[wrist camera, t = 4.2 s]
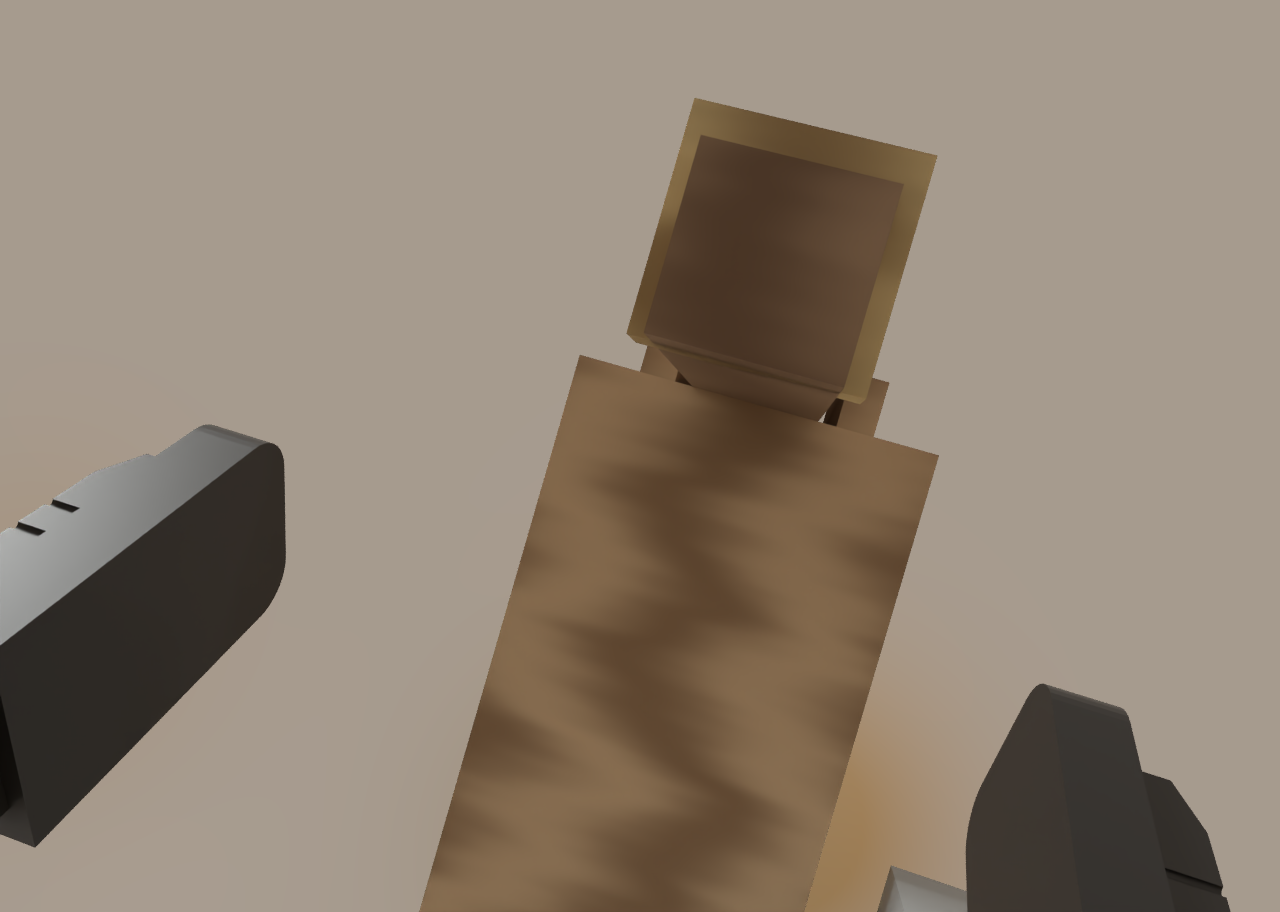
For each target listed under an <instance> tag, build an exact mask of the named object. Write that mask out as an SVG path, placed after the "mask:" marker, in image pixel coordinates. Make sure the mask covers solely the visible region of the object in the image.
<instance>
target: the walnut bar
mask: <svg viewBox="0 0 1280 912" xmlns="http://www.w3.org/2000/svg"><path fill="white" fill-rule="evenodd" d="M936 159H937V155H932V154H929V153H924V152H920V151H916V150H912V149H908V148H903V147H899V146H895V145H891V144H887V143H882V142H878V141H874V140H870V139H866V138H861V137H857V136H853V135H848V134H844V133H840V132H836V131H832V130H827V129H823V128H819V127H815V126H811V125H807V124H803V123H798V122H794V121H789V120H786V119H781V118H777V117H773V116H769V115H765V114H760V113H756V112H752V111H748V110H744V109H739V108H735V107H731V106H727V105H722V104H718V103H714V102H710V101H706V100H702V99H697V98H695V99H694V102H693V105H692V109H691V112H690V115H689V119H688V122H687V126H686V129H685V133H684V136H683V140H682V143H681V147H680V150H679V154H678V157H677V160H676V164H675V168H674V171H673V174H672V178H671V181H670V185H669V188H668V192H667V195H666V198H665V202H664V205H663V209H662V213H661V216H660V219H659V223H658V226H657V230H656V233H655V236H654V240H653V244H652V247H651V251H650V254H649V257H648V261H647V264H646V268H645V271H644V275H643V278H642V281H641V285H640V288H639V292H638V295H637V299H636V302H635V306H634V309H633V313H632V316H631V320H630V323H629V326H628V330H627V334H628V335H629V336H630V337H631V338H632V339H633V340H634V341H635V342H636V343H640V344H643V345H647V346H650V347H654V348H658V349H659V350H660V351H661V352H662V353H663V355H664V356H665V357H666V358H667V359H668V360H669V361H670V362H671V363H672V364H673V366H674V367H675V368H676V369H677V370H678V371H679V372H680V373H681V374H682V375H683V377H684V378H685V379H686V380H687V381H688V382H689V383H690V384H691V385H692V386H693V387H696V388H700V389H703V390H707V391H711V392H714V393H718V394H721V395H725V396H728V397H732V398H736V399H739V400H743V401H746V402H750V403H753V404H757V405H761V406H764V407H768V408H771V409H775V410H778V411H782V412H786V413H789V414H793V415H796V416H800V417H803V418H807V419H810V420H814V421H819V420H820V418H821V417H822V416H823V415H824V413H825V412H826V411H827V409H828V408H829V407H830V406H831V404H832V403H833V402H834V400H835V399H836V398H839V399H842V400H846V401H850V402H853V403H857V404H861V403H862V402H863V401H864V400H866V397H867V394H868V390H869V387H870V384H871V380H872V376H873V373H874V370H875V366H876V363H877V360H878V356H879V353H880V349H881V346H882V342H883V339H884V336H885V333H886V329H887V326H888V322H889V319H890V316H891V312H892V309H893V305H894V302H895V298H896V295H897V292H898V288H899V285H900V281H901V278H902V274H903V271H904V268H905V265H906V261H907V257H908V254H909V251H910V248H911V244H912V241H913V237H914V234H915V230H916V227H917V224H918V220H919V217H920V213H921V210H922V206H923V203H924V200H925V196H926V193H927V190H928V186H929V183H930V179H931V176H932V172H933V169H934V166H935V162H936Z"/></svg>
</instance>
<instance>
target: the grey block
mask: <svg viewBox="0 0 1280 912" xmlns="http://www.w3.org/2000/svg"><path fill="white" fill-rule="evenodd" d="M877 912H967V891H964V890H961V889H958V888H955V887H953V886H950V885H947V884H944V883H941V882H938V881H935V880H932V879H929V878H926V877H923V876H920V875H917V874H914V873H911V872H908V871H906V870H903V869H899V868H897V867H894V866H891V867H890V871H889V874H888V878H887V881H886V884H885V887H884V891H883V894H882V897H881V901H880V904H879V908H878V911H877Z"/></svg>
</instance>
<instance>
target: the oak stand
mask: <svg viewBox="0 0 1280 912" xmlns="http://www.w3.org/2000/svg"><path fill="white" fill-rule="evenodd" d="M888 386H889V382H885V381H881V380H878V379H874V378H872V380H871V384H870V387H869V390H868V394H867V397H866V400H864V401H863V402H862V403H861V404H857V403H853V402H850V401H846V400H842V399H839V398H836V399H835V400H834V402H833V403H832V404H831V406H830V407H829V408H828V409H827V411H826V415H825V418H824V421H823V423H821V422H818V421H814V420H810V419H807V418H803V417H800V416H796V415H793V414H789V413H786V412H782V411H778V410H775V409H771V408H768V407H764V406H761V405H757V404H753V403H750V402H746V401H743V400H739V399H736V398H732V397H728V396H725V395H721V394H718V393H714V392H711V391H707V390H703V389H700V388H696V387H693V386H692V385H691V384H690V383H689V382H688V381H687V380H686V379H685V378H684V377H683V375H682V374H681V373H680V372H679V371H678V370H677V369H676V368H675V367H674V366H673V364H672V363H671V362H670V361H669V360H668V359H667V358H666V357H665V356H664V355H663V353H662V352H661V351H660V350H659V349H658V348H654V347H650V346H647V350H646V353H645V357H644V360H643V363H642V367H641V370H640V372H639V371H635V370H632V369H629V368H625V367H621V366H618V365H614V364H611V363H607V362H604V361H600V360H596V359H593V358H589V357H586V356H582V355H580V356H579V360H578V364H577V367H576V370H575V374H574V377H573V381H572V384H571V387H570V391H569V394H568V398H567V401H566V405H565V408H564V412H563V415H562V419H561V422H560V426H559V429H558V433H557V436H556V440H555V443H554V447H553V450H552V453H551V457H550V461H549V464H548V467H547V471H546V474H545V478H544V481H543V485H542V488H541V491H540V495H539V498H538V502H537V505H536V509H535V513H534V516H533V519H532V523H531V526H530V530H529V533H528V537H527V540H526V543H525V547H524V550H523V554H522V557H521V561H520V564H519V568H518V571H517V575H516V579H515V582H514V585H513V589H512V593H511V595H510V599H509V602H508V606H507V609H506V613H505V616H504V620H503V623H502V627H501V630H500V634H499V637H498V641H497V644H496V647H495V651H494V655H493V658H492V662H491V665H490V668H489V672H488V676H487V679H486V682H485V686H484V689H483V693H482V696H481V700H480V703H479V706H478V710H477V714H476V717H475V720H474V724H473V727H472V731H471V734H470V738H469V741H468V745H467V748H466V752H465V755H464V758H463V762H462V765H461V769H460V772H459V776H458V779H457V783H456V786H455V790H454V793H453V797H452V800H451V804H450V807H449V810H448V814H447V817H446V821H445V825H444V828H443V831H442V835H441V838H440V842H439V845H438V849H437V852H436V856H435V859H434V863H433V866H432V869H431V873H430V877H429V880H428V883H427V887H426V890H425V894H424V897H423V901H422V904H421V908H420V911H419V912H804V910H805V907H806V903H807V900H808V897H809V893H810V889H811V887H812V883H813V880H814V876H815V873H816V869H817V866H818V863H819V860H820V855H821V853H822V849H823V846H824V842H825V839H826V836H827V832H828V829H829V826H830V822H831V819H832V816H833V812H834V809H835V805H836V802H837V799H838V795H839V792H840V788H841V785H842V781H843V778H844V775H845V772H846V768H847V765H848V761H849V758H850V754H851V751H852V748H853V744H854V741H855V738H856V734H857V731H858V728H859V724H860V721H861V717H862V714H863V711H864V707H865V704H866V700H867V697H868V694H869V690H870V687H871V684H872V680H873V677H874V673H875V670H876V667H877V663H878V660H879V657H880V653H881V650H882V646H883V643H884V640H885V636H886V633H887V629H888V626H889V622H890V619H891V616H892V612H893V609H894V606H895V602H896V599H897V596H898V592H899V589H900V585H901V582H902V579H903V575H904V572H905V569H906V565H907V562H908V558H909V555H910V551H911V548H912V545H913V542H914V538H915V535H916V531H917V528H918V525H919V521H920V518H921V514H922V511H923V508H924V504H925V501H926V498H927V494H928V490H929V487H930V484H931V481H932V477H933V474H934V470H935V467H936V464H937V460H938V457H939V455H935V454H932V453H928V452H925V451H921V450H918V449H914V448H910V447H907V446H903V445H900V444H896V443H892V442H889V441H885V440H882V439H878V438H875V437H874V433H875V430H876V426H877V423H878V420H879V416H880V413H881V409H882V406H883V403H884V399H885V396H886V392H887V389H888Z"/></svg>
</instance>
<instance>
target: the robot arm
mask: <svg viewBox="0 0 1280 912" xmlns="http://www.w3.org/2000/svg"><path fill="white" fill-rule="evenodd" d="M285 560H286V544H285V482H284V459H283V455H282V453H281V450H280V449H279V448H278V446H276V445H275V444H272V443H269V442H266V441H263V440H260V439H256V438H253V437H250V436H246V435H243V434H240V433H237V432H234V431H230V430H227V429H224V428H221V427H218V426H214V425H203V426H200V427H198V428H197V429H195V430H193V431H192V432H190V433H189V434H187V435H186V436H184V437H183V438H181V439H180V440H179V441H177V442H176V443H174V444H173V445H171V446H170V447H168V448H167V449H165V450H164V451H162V452H161V453H160V454H158V455H157V456H152V455H149V454H146V455H143V456H140V457H137V458H134V459H131V460H128V461H125V462H122V463H119V464H116V465H113V466H110V467H107V468H104V469H101V470H98V471H95V472H93V473H92V474H90V475H89V476H87V477H85V478H84V479H82V480H81V481H79V482H78V483H76V484H75V485H73V486H72V487H70V488H69V489H67V490H66V491H64V492H63V493H61V494H59V495H58V496H56V497H55V498H53V501H52V504H51V505H50V506H47V505H45V504H44V505H43V506H41V507H40V508H38V509H37V510H35V511H33V512H32V513H31V514H29V515H28V516H26V517H24V518H23V519H21V520H20V521H18V525H17V527H16V528H15V529H13V528H10V527H9V528H7V529H6V530H4V531H3V532H1V533H0V834H1V835H4V836H6V837H9V838H12V839H14V840H17V841H20V842H22V843H25V844H28V845H30V846H32V847H36V846H37V845H38V844H39V843H40V842H41V841H42V840H43V839H44V838H45V837H46V836H47V835H48V834H49V833H50V832H51V831H52V830H53V829H54V828H55V826H56V825H58V824H59V823H60V821H61V820H62V819H63V818H64V817H65V816H66V815H67V814H68V813H69V812H70V811H71V810H72V809H73V808H74V807H75V806H76V805H77V804H78V803H79V802H80V801H81V800H82V799H83V798H84V797H85V796H86V795H87V794H88V793H89V792H90V791H91V790H92V789H93V788H94V787H95V786H96V785H97V784H98V783H99V781H100V780H101V779H102V778H103V777H104V776H105V775H106V774H107V773H108V772H109V771H110V770H111V769H112V768H113V767H114V766H115V765H116V764H117V763H118V762H119V761H120V760H121V759H122V758H123V757H124V756H125V755H126V754H127V753H128V752H129V751H130V750H131V749H132V748H133V747H134V746H135V745H136V744H137V743H138V742H139V740H140V739H141V738H142V737H143V736H144V735H145V734H146V733H147V732H148V731H149V730H150V729H151V728H152V727H153V726H154V725H155V724H156V723H157V722H158V721H159V720H160V719H161V718H162V717H163V716H164V715H165V714H166V713H167V712H168V711H169V710H170V709H171V707H172V706H174V705H175V704H176V703H177V702H178V700H179V699H180V698H181V697H182V696H183V695H184V694H185V693H186V692H187V691H188V690H189V689H190V688H191V687H192V686H193V685H194V684H195V683H196V682H197V681H198V680H199V679H200V678H201V677H202V676H203V675H204V674H205V673H206V672H207V671H208V670H209V669H210V668H211V667H212V666H213V665H214V664H215V663H216V662H217V660H218V659H219V658H220V657H221V656H222V655H223V654H224V653H225V652H226V651H227V650H228V649H229V648H230V647H231V646H232V645H233V644H234V643H235V642H236V641H237V640H238V639H239V638H240V637H241V636H242V635H243V634H244V633H245V632H246V631H247V630H248V629H249V628H250V627H251V626H252V625H253V624H254V623H255V622H256V621H257V620H258V618H259V617H260V616H261V615H262V614H263V613H264V612H265V611H266V609H267V608H268V607H269V605H270V603H271V602H272V600H273V598H274V596H275V594H276V592H277V590H278V588H279V586H280V583H281V580H282V577H283V573H284V568H285ZM966 875H967V876H966V878H967V879H966V880H967V912H1230V909H1229V905H1228V902H1227V898H1226V897H1223V896H1222V895H1221V891H1222V888H1223V884H1222V881H1221V878H1220V874H1219V871H1218V867H1217V864H1216V861H1215V857H1214V854H1213V851H1212V847H1211V844H1210V840H1209V837H1208V834H1207V832H1206V830H1205V829H1204V828H1203V826H1202V825H1201V823H1200V822H1199V820H1198V819H1197V818H1196V816H1195V815H1194V814H1193V812H1192V810H1191V809H1190V808H1189V806H1188V805H1187V803H1186V802H1185V801H1184V799H1183V798H1182V796H1181V795H1180V793H1179V792H1178V790H1177V789H1176V787H1175V786H1174V785H1173V783H1172V782H1171V781H1170V780H1167V779H1164V778H1161V777H1157V776H1154V775H1151V774H1148V773H1145V772H1142V770H1141V766H1140V762H1139V757H1138V753H1137V749H1136V745H1135V740H1134V736H1133V732H1132V728H1131V724H1130V721H1129V717H1128V715H1127V713H1126V712H1125V711H1124V710H1123V709H1122V708H1120V707H1117V706H1114V705H1110V704H1107V703H1104V702H1101V701H1098V700H1094V699H1091V698H1088V697H1085V696H1081V695H1078V694H1075V693H1071V692H1068V691H1065V690H1062V689H1059V688H1056V687H1052V686H1049V685H1046V684H1039V685H1038V686H1036V687H1035V688H1034V689H1033V690H1032V692H1031V693H1030V694H1029V696H1028V698H1027V699H1026V701H1025V704H1024V705H1023V707H1022V709H1021V711H1020V713H1019V715H1018V717H1017V719H1016V720H1015V722H1014V724H1013V726H1012V728H1011V730H1010V732H1009V734H1008V736H1007V738H1006V740H1005V741H1004V743H1003V745H1002V747H1001V749H1000V751H999V753H998V755H997V757H996V758H995V761H994V763H993V764H992V766H991V768H990V770H989V772H988V774H987V776H986V778H985V779H984V782H983V783H982V785H981V787H980V789H979V792H978V794H977V797H976V800H975V802H974V806H973V809H972V813H971V817H970V821H969V826H968V833H967V840H966Z"/></svg>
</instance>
